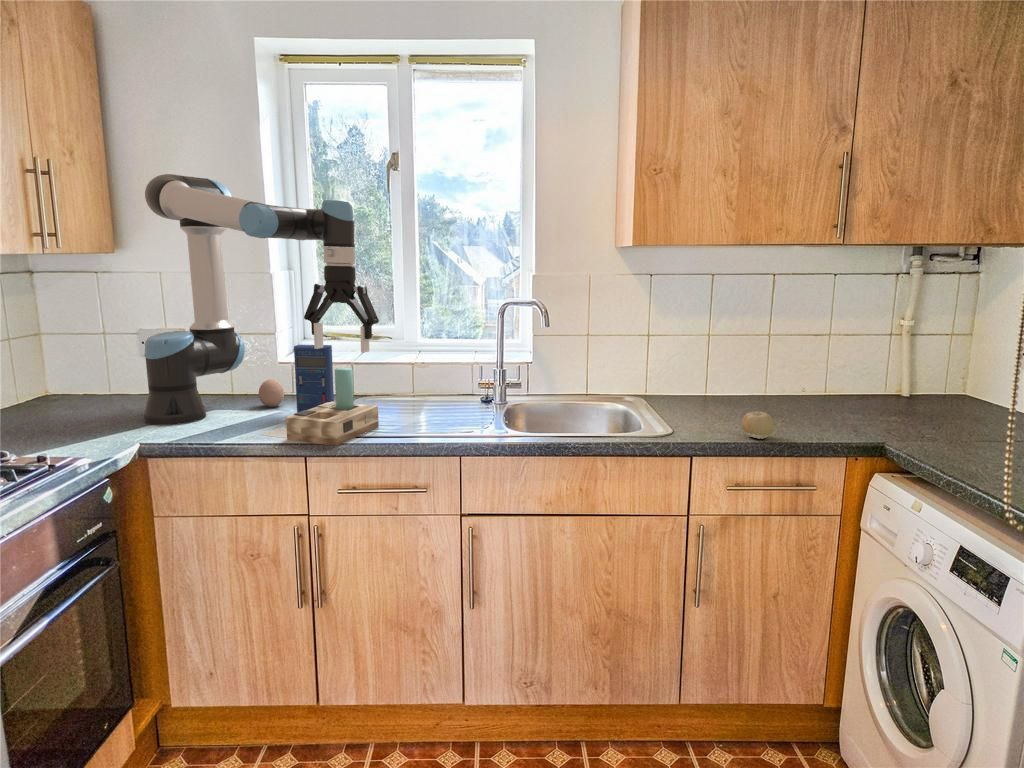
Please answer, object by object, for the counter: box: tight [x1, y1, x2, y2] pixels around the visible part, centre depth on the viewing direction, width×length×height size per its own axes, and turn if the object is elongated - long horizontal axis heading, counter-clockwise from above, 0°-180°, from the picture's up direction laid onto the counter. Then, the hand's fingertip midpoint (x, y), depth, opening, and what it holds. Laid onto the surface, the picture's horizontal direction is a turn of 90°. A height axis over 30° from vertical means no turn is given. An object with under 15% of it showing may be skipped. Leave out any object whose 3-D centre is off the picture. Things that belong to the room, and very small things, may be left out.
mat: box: [260, 426, 287, 439], centre depth 162 cm, size 8×8×1 cm
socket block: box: [285, 401, 379, 447], centre depth 162 cm, size 14×19×6 cm
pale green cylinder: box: [334, 367, 355, 411], centre depth 165 cm, size 4×4×14 cm
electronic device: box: [293, 344, 335, 413], centre depth 179 cm, size 10×5×20 cm, turn 91°
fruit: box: [741, 407, 774, 436], centre depth 165 cm, size 8×7×8 cm
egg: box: [258, 378, 285, 408], centre depth 191 cm, size 7×7×8 cm
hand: (341, 350), depth 163 cm, fingers open, 13 cm apart
